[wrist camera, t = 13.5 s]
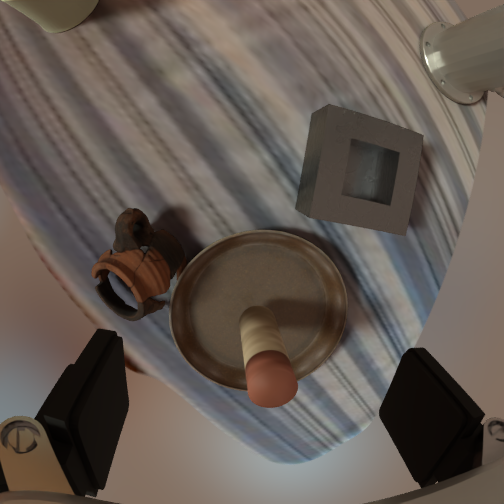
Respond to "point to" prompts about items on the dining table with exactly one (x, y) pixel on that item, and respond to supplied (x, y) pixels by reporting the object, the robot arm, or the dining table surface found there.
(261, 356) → the beech pin
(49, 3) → the can
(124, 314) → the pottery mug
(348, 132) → the block
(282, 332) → the plant saucer
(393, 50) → the dining table surface
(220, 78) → the dining table surface
